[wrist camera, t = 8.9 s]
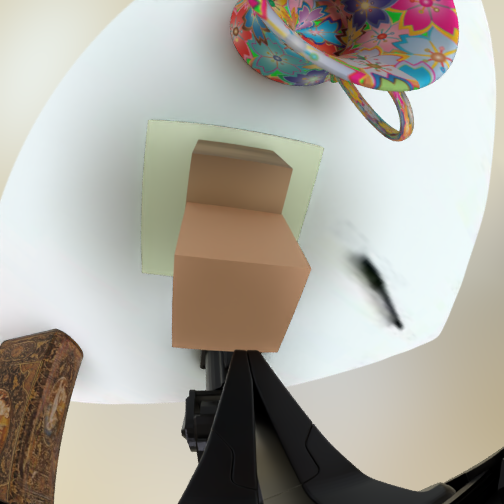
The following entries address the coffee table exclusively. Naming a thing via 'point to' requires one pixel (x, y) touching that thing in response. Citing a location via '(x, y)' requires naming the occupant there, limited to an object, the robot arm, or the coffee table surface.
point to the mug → (350, 46)
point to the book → (34, 412)
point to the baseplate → (177, 174)
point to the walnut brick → (238, 177)
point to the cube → (235, 279)
